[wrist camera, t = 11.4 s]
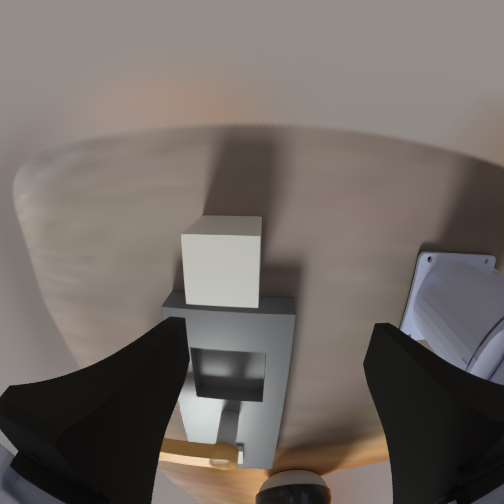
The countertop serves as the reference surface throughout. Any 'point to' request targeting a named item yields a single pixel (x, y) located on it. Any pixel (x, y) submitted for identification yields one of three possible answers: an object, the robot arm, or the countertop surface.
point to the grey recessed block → (236, 374)
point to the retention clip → (200, 454)
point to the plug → (222, 261)
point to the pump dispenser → (294, 489)
